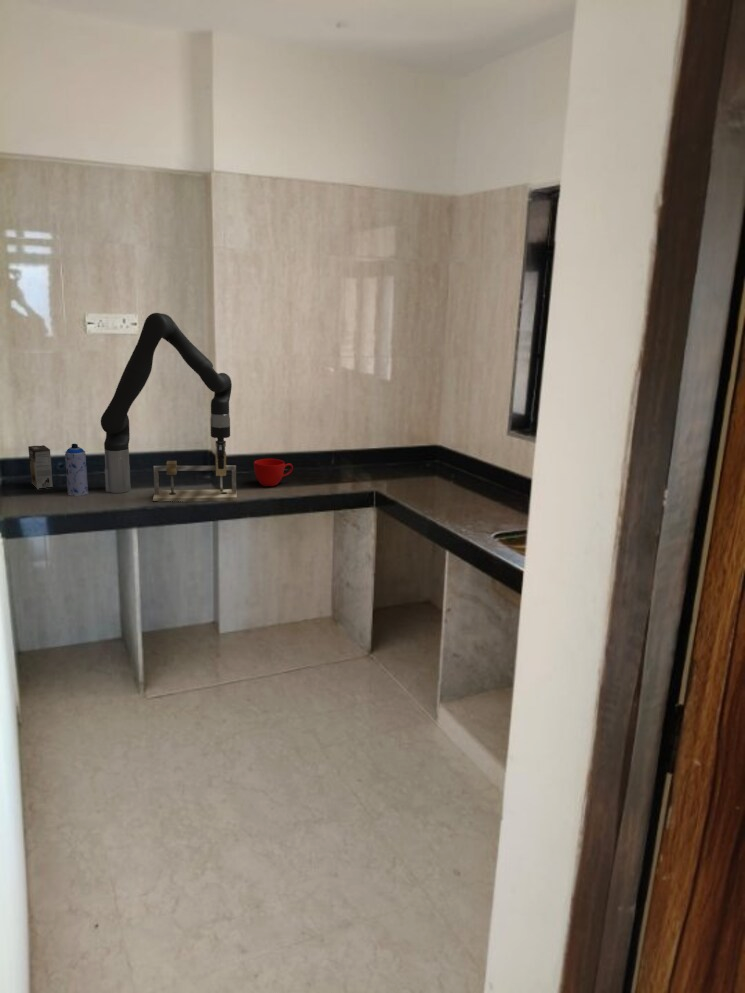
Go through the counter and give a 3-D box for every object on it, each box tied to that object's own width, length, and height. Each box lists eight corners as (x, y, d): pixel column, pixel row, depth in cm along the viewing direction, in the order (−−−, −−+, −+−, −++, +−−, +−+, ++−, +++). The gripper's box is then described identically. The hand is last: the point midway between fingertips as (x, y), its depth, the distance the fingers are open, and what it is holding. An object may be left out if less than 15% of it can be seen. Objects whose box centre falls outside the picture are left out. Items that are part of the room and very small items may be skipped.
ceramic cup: (296, 487, 320) (297, 464, 317) (257, 489, 314) (257, 466, 311) (288, 479, 331) (288, 457, 329) (251, 481, 325) (250, 459, 322)
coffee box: (31, 484, 307) (27, 446, 303) (47, 482, 311) (44, 444, 307) (36, 489, 300) (33, 450, 296) (53, 487, 304) (50, 448, 300)
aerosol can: (67, 491, 299) (63, 442, 294) (88, 490, 302) (85, 441, 297) (67, 496, 292) (63, 446, 287) (88, 495, 295) (85, 445, 290)
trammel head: (216, 493, 297) (215, 454, 293) (216, 489, 302) (215, 451, 297) (226, 493, 298) (225, 454, 293) (226, 489, 302) (225, 451, 298)
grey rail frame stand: (153, 502, 290) (151, 465, 286) (155, 493, 301) (154, 458, 297) (236, 500, 296) (236, 465, 292) (236, 492, 307) (236, 458, 303)
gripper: (210, 421, 298) (211, 463, 303) (210, 428, 285) (211, 471, 289) (230, 421, 300) (230, 463, 304) (230, 428, 286) (230, 471, 291)
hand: (221, 466), depth 297 cm, fingers closed on trammel head, 5 cm apart
